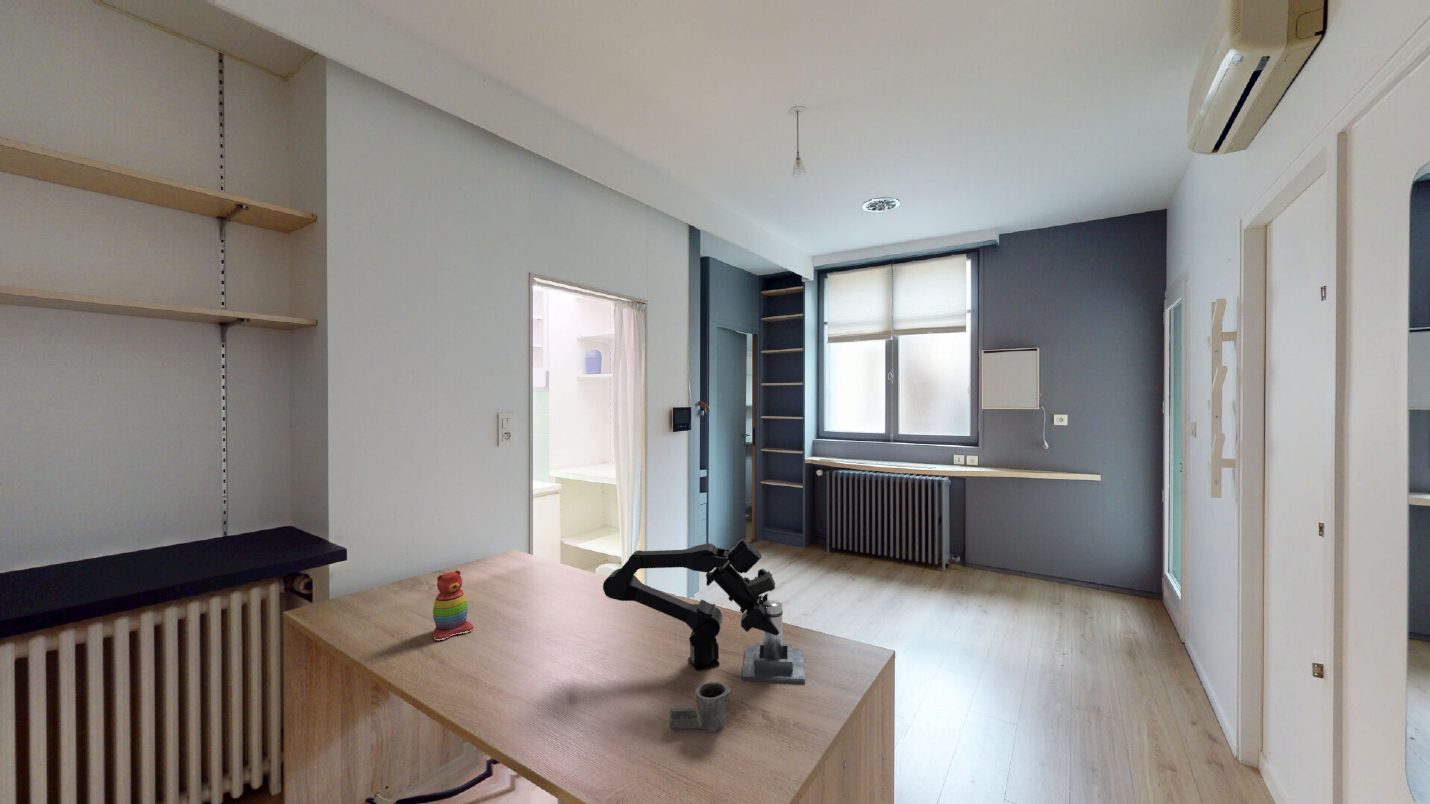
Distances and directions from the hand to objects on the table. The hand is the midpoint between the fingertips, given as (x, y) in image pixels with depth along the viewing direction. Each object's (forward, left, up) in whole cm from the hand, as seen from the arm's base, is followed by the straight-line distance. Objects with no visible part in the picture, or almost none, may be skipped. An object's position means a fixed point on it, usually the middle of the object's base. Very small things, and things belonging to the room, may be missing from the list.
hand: (778, 629), depth 132 cm
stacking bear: (-79, +60, -9) cm, 99 cm away
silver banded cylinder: (-1, +1, -7) cm, 7 cm away
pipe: (-27, -15, -10) cm, 32 cm away
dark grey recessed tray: (-1, +1, -9) cm, 9 cm away
